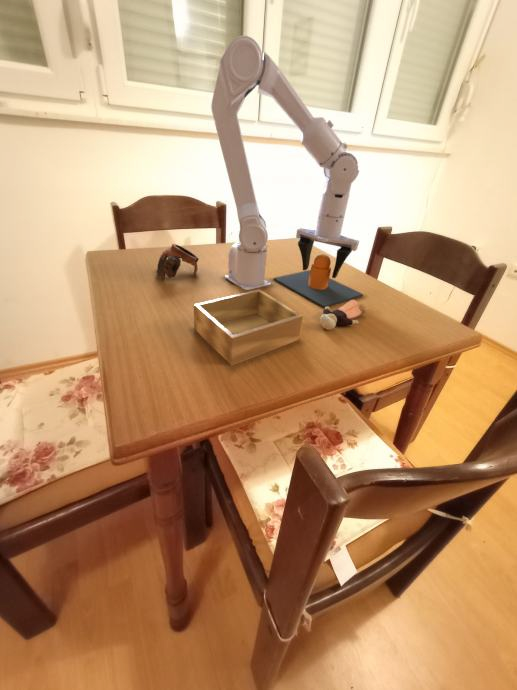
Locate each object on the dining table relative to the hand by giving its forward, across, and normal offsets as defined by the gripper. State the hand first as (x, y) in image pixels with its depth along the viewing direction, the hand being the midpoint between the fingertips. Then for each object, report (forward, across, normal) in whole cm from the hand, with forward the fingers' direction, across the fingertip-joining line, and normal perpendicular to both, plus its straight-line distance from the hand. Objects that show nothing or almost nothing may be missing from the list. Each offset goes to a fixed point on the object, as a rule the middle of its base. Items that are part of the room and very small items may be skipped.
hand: (319, 272), depth 77 cm
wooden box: (+4, -3, -30) cm, 31 cm away
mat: (+4, 0, 0) cm, 4 cm away
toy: (+3, 0, 0) cm, 3 cm away
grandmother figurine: (+2, +12, -8) cm, 14 cm away
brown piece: (+4, -32, -16) cm, 36 cm away
